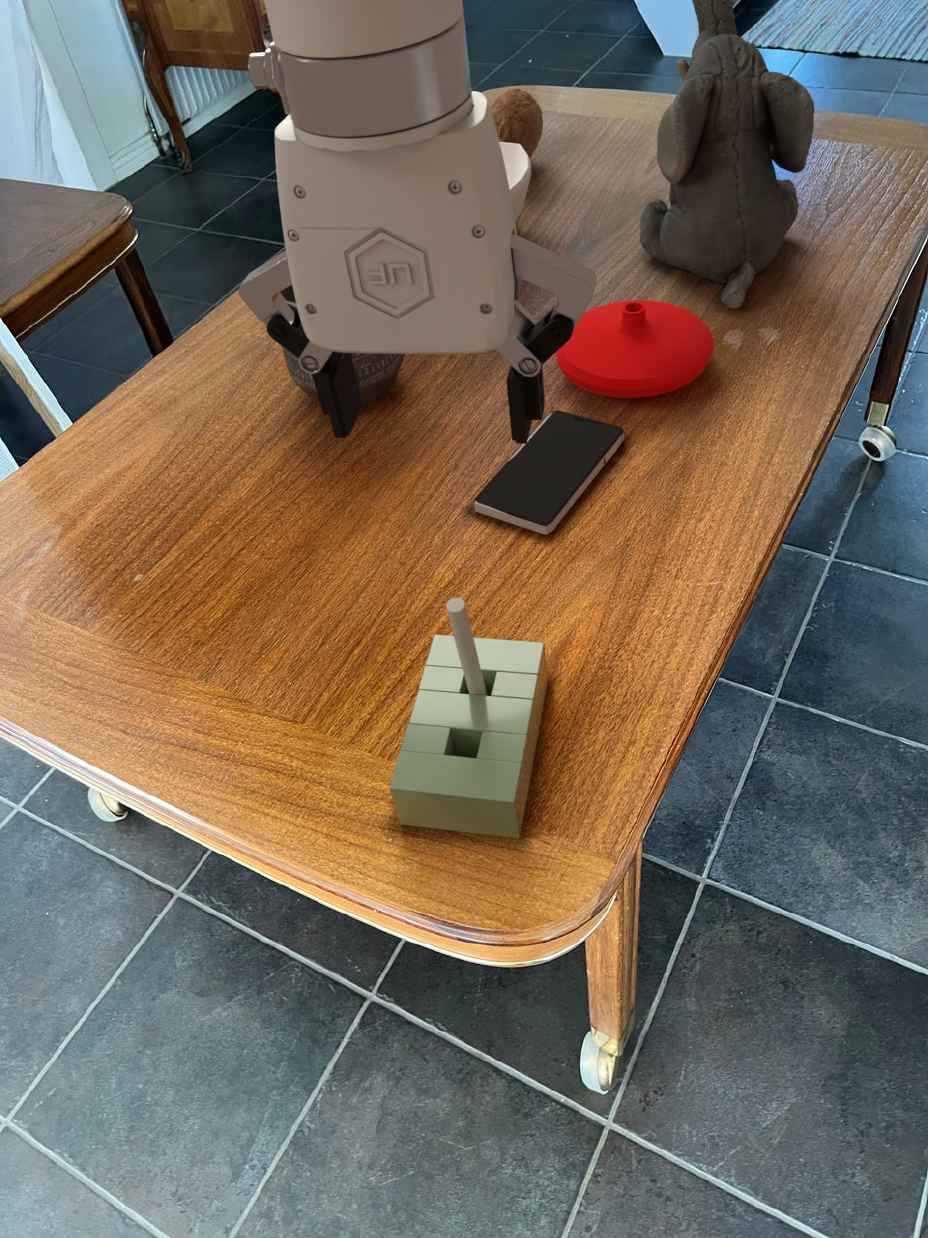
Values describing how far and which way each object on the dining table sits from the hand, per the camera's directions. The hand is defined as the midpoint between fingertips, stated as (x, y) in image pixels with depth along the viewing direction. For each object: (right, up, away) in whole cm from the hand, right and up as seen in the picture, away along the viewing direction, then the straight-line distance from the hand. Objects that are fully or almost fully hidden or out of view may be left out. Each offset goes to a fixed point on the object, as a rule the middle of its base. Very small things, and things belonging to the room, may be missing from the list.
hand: (435, 425), depth 51 cm
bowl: (+2, +36, +70) cm, 79 cm away
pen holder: (+3, -20, +17) cm, 26 cm away
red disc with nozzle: (+19, +15, +47) cm, 53 cm away
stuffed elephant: (+31, +32, +61) cm, 76 cm away
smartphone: (+10, +3, +38) cm, 39 cm away
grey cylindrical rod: (+3, -18, +19) cm, 26 cm away
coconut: (+8, +52, +83) cm, 98 cm away
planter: (-10, +14, +51) cm, 54 cm away
